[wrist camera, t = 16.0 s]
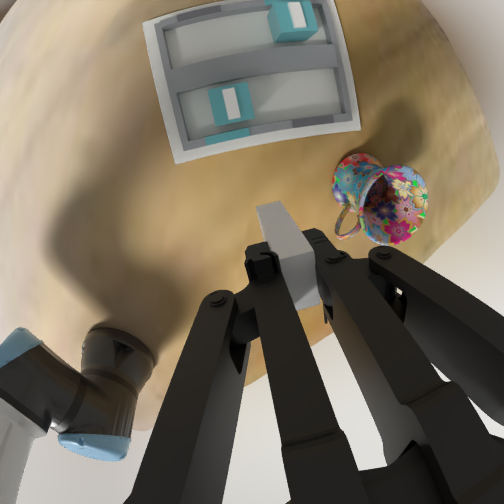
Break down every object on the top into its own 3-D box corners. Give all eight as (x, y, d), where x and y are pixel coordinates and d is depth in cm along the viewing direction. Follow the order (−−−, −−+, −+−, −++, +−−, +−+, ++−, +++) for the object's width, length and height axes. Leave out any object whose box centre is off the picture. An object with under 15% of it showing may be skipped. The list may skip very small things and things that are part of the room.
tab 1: (217, 125, 30) (215, 127, 25) (210, 93, 28) (206, 89, 23) (251, 117, 30) (255, 118, 25) (244, 86, 28) (247, 80, 23)
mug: (365, 136, 33) (409, 148, 23) (394, 187, 37) (437, 214, 27) (298, 188, 36) (323, 217, 26) (334, 235, 40) (363, 274, 30)
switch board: (176, 163, 33) (172, 168, 30) (144, 24, 23) (136, 18, 20) (357, 129, 32) (368, 131, 29) (329, -4, 23) (337, -12, 20)
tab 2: (273, 43, 25) (282, 31, 20) (266, 16, 23) (274, 0, 19) (306, 40, 25) (320, 29, 20) (299, 14, 23) (311, -2, 18)
